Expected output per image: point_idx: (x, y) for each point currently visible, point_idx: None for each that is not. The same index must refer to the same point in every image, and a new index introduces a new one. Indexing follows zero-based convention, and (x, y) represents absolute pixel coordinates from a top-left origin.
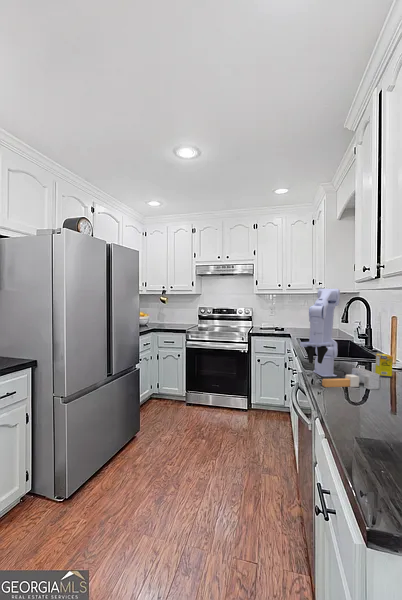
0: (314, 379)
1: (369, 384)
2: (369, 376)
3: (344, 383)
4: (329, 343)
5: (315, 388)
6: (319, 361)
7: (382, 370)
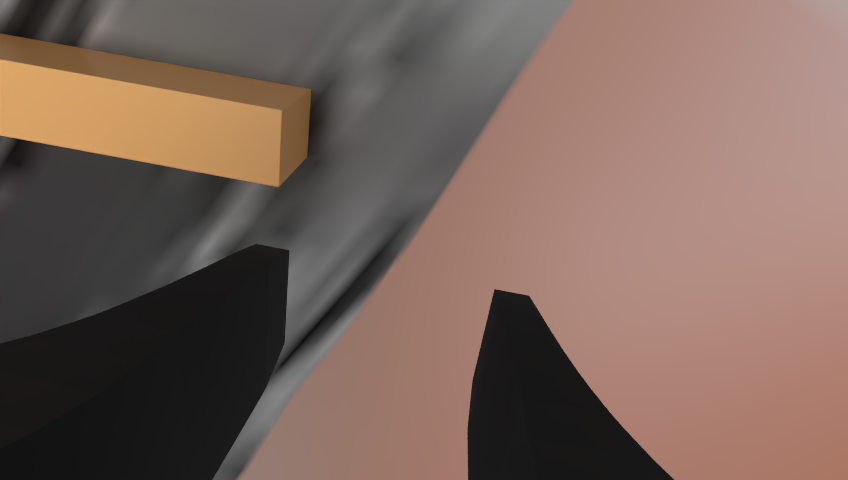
0: None
1: None
2: None
3: (10, 47)
4: None
5: (482, 72)
6: (272, 306)
7: None
